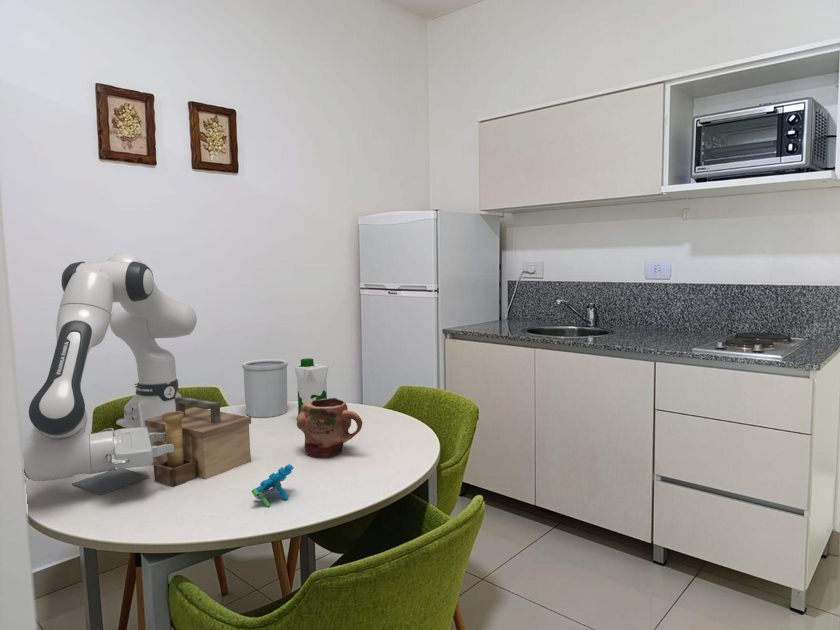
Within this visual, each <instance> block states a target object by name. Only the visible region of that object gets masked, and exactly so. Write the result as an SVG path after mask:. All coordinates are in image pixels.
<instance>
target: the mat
mask: <svg viewBox="0 0 840 630" xmlns="http://www.w3.org/2000/svg"><path fill="white" fill-rule="evenodd" d="M149 478H150V475H148V474H144V473H141V472H138V471H134V470H132V469H129V468H125V469H118V468H116V469H115V470H112V471H106V472H101V473H98V474H96V475H93V476H91V477H87V478H83V479H81V480H78V481H75V482H72V483H71V485H72V486H75V487H76V488H80V489H83V490H86V491H88V492H92V493H95V494H96V495H97V494H98V495H100V496H102V495H104V494H107V493H111V492H113V491H115V490H118V489H121V488H124V487H126V486H131V485H132V484H136V483H138V482H141V481H143V480H145V479H146V480H147V479H149Z"/></svg>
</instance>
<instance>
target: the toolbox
mask: <svg viewBox="0 0 840 630" xmlns="http://www.w3.org/2000/svg"><path fill="white" fill-rule="evenodd" d="M175 405H176V411H181V412H184V418H183V419H182V420H181V422H182V438H183V454H184V464H183V465H181V466H178V467H175V468H171V467H168V461H167V453H165V454H163V455H160V456H157V457H153V463H152V464H151V465H153V464H155V465H153V475H154V477H153V479H154V482H155V483H158V484H161V485H165V486H169V487H171V488H174V487H177V486H179V485H181V484H184V483H187V482H190V481H192V480H195V479H197V478H198V479H199V478H200V479H205V480H207V479H209V478H212V477H214V476H217V475H219V474H223V473H224V472H227V471H230V470H232V469H235V468H237V467H241V466H243V465H245V464H247V462H248V463H250V462H252V460H251V459H252V456H251V440H250V439H251V437H250V425H251V424H252V417H250V416H247V415H242V414H241V415H239V414H236V413H228V412H223V411H221V403H220V402H214V401H209V400H204V399H197V398H192V397H186V396H182V395H181V396H179V397H175ZM185 405H189V406H193V407H189V408H186V406H185ZM145 426H147V427H148V433H166V430H165V422H164V421H162V416H158V417H154V418H150V419H147V420H145ZM165 444H166V441H164V442H163V441H156V442H153V443H151V446H161V445H165ZM242 464H243V465H242Z"/></svg>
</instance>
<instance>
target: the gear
mask: <svg viewBox="0 0 840 630" xmlns="http://www.w3.org/2000/svg"><path fill="white" fill-rule="evenodd" d="M294 468H295V467H294V466H293V465H292V464H290V463H288V464H287V465H285V466H281V467H280V468H278V470H277V472H276V473H275V472H272V473H271V474H270V475H269V476H268V478H267V479H263V480H262V481H261V482H260V484H259V486H257V487H255V488H253V489H252V490H251V493H252V495H253V496H254V497H255V498H256V497H257V500H262V502H263V503H264V505H265V506H266V507H267V508H269V507H270V506H271V503H270V502H269V501H268V500H267V498H266V497H267V496H268V495H270V494H271V493H273V492H275V491H277V492H278V493H279V494H280V496H281V497H282V498H283V500H284V501H286V500H288V498H289V497H290V496H288V494H287V493H286V491H285V490H284V489H283V487H282V484H281V482H283V481H285V480H286V478H287V476H289V475H290V474H292V470H294Z"/></svg>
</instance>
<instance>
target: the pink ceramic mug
mask: <svg viewBox="0 0 840 630" xmlns="http://www.w3.org/2000/svg"><path fill="white" fill-rule="evenodd" d="M352 420H354V422H355V423H356V427H357V428H356V430H355V431H354V432H352V433H350V432H349V430H350V428H351V426H352ZM296 427H297V428H298V430H300V431H302V433H303V434H304V450H305V453H306V455H308V456H310V457H312V458H319V459H328V458H329V459H330V458H331V457H335V456H337V455H339V454H341V453H342V451H343V449H344V444H345V443H346V442H348V441H350V440H352V439H353V438H354V437H355V436H356V435H357V434H359V433H360V432H361V430H362V427H363V420H362V418H361V417H360V415H359V414H358V413H357V412H356V411H353V410H349V409H348V405H347V403H346V402H345V401H344V400H342V399H340V398H339V399H338V398H337V397H331V398H330V397H329V398H327V399H321V400H311V401H308V402H306V403H304V404H303V405H302V406H301V410H300V414H299V415H298V414H297V416H296Z"/></svg>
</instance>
